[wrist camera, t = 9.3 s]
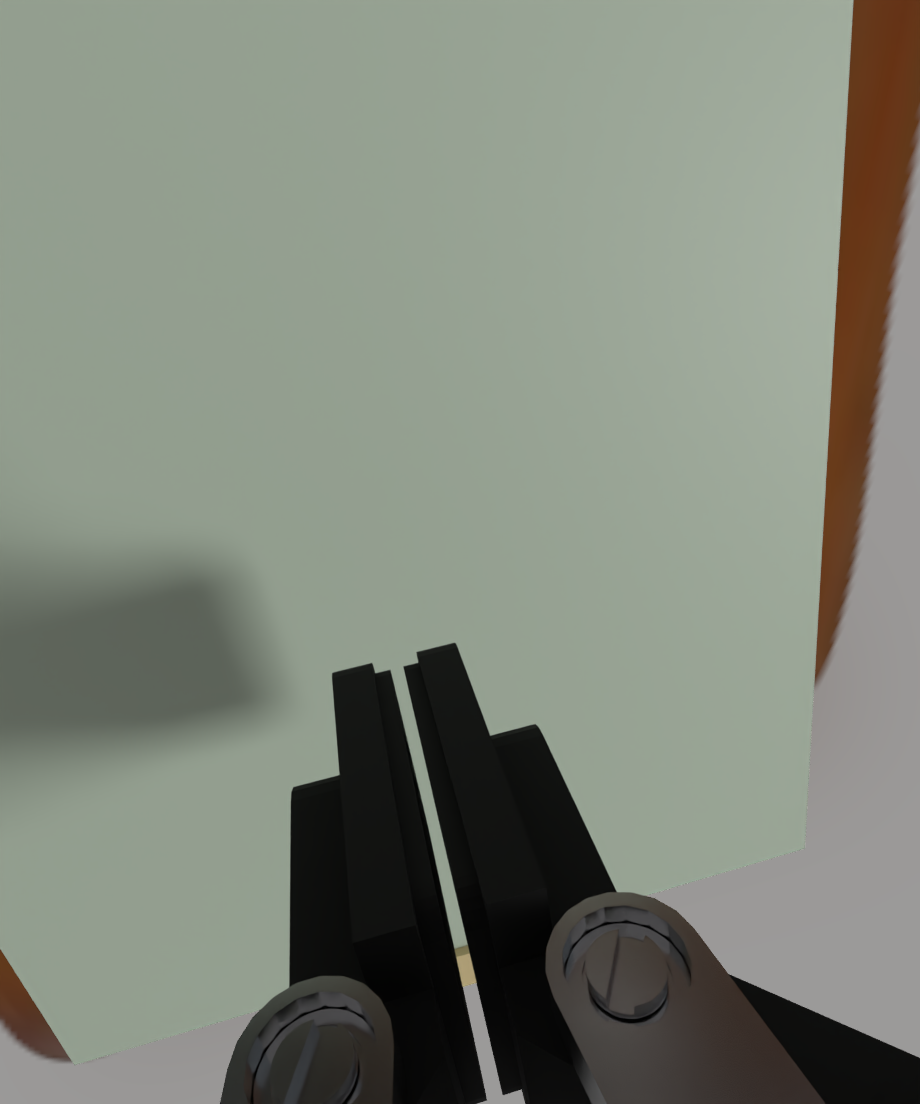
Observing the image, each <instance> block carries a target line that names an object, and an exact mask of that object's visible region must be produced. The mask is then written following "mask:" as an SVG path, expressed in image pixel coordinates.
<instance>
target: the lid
mask: <svg viewBox="0 0 920 1104" xmlns="http://www.w3.org/2000/svg"><path fill="white" fill-rule="evenodd" d="M852 14H853V0H0V949H1V950H2V952H3V954H4V955H5V957H6V958H7V960H8V961H9V963H10V965H11V966H12V968H13V969H14V971H15V972H16V974H17V976H18V977H19V979H20V980H21V982H22V983H23V985H24V987H25V988H26V990H27V991H28V993H29V994H30V996H31V998H32V999H33V1001H34V1002H35V1004H36V1005H37V1007H38V1009H39V1010H40V1012H41V1013H42V1015H43V1016H44V1018H45V1020H46V1021H47V1023H48V1024H49V1026H50V1027H51V1029H52V1031H53V1032H54V1034H55V1035H56V1037H57V1038H58V1040H59V1042H60V1043H61V1045H62V1046H63V1048H64V1049H65V1051H66V1053H67V1054H68V1056H69V1057H70V1059H71V1060H72V1062H73V1064H74V1065H77V1064H80V1063H83V1062H87V1061H90V1060H93V1059H97V1058H100V1057H104V1056H107V1055H110V1054H114V1053H117V1052H120V1051H124V1050H127V1049H130V1048H133V1047H137V1046H140V1045H144V1044H147V1043H151V1042H154V1041H158V1040H161V1039H164V1038H167V1037H171V1036H174V1035H178V1034H181V1033H185V1032H187V1031H191V1030H195V1029H198V1028H201V1027H205V1026H208V1025H212V1024H215V1023H218V1022H222V1021H225V1020H228V1019H232V1018H235V1017H238V1016H242V1015H245V1014H249V1013H252V1012H255V1011H258V1010H261V1009H262V1008H263V1007H264V1006H265V1005H266V1004H267V1003H268V1002H269V1001H270V1000H271V999H272V998H273V997H274V996H276V995H278V994H279V993H281V992H283V991H284V990H286V989H288V988H289V956H290V825H291V792H292V789H293V787H296V786H299V785H303V784H307V783H311V782H315V781H319V780H322V779H326V778H330V777H334V776H338V775H339V762H338V749H337V737H336V724H335V711H334V698H333V685H332V673H333V672H337V671H341V670H345V669H349V668H353V667H357V666H361V665H365V664H369V663H372V664H373V666H374V670H375V673H378V672H383V671H387V670H391V674H392V678H393V682H394V686H395V690H396V695H397V699H398V703H399V707H400V711H401V715H402V720H403V724H404V728H405V732H406V736H407V740H408V745H409V749H410V753H411V757H412V761H413V765H414V770H415V774H416V778H417V782H418V786H419V790H420V795H421V799H422V803H423V807H424V811H425V815H426V820H427V824H428V828H429V833H430V837H431V842H432V846H433V851H434V856H435V860H436V865H437V870H438V874H439V879H440V884H441V888H442V893H443V898H444V902H445V907H446V912H447V916H448V921H449V926H450V930H451V935H452V940H453V944H454V949H455V953H456V958H457V963H458V967H459V972H460V977H461V981H462V986H463V987H464V986H467V985H471V984H474V983H476V978H475V974H474V970H473V965H472V961H471V957H470V953H469V948H468V944H467V940H466V935H465V931H464V927H463V923H462V918H461V914H460V910H459V906H458V901H457V897H456V893H455V888H454V884H453V880H452V876H451V871H450V867H449V863H448V859H447V854H446V850H445V846H444V841H443V837H442V833H441V829H440V824H439V820H438V816H437V811H436V807H435V803H434V798H433V794H432V790H431V785H430V781H429V776H428V772H427V768H426V763H425V759H424V755H423V750H422V746H421V742H420V737H419V733H418V729H417V724H416V720H415V716H414V711H413V707H412V703H411V698H410V694H409V690H408V685H407V681H406V676H405V672H404V668H403V666H407V665H411V664H415V663H418V659H417V653H416V652H418V651H422V650H426V649H431V648H435V647H439V646H443V645H447V644H451V643H456V645H457V647H458V650H459V652H460V655H461V658H462V660H463V663H464V666H465V669H466V671H467V674H468V677H469V679H470V682H471V685H472V687H473V690H474V693H475V696H476V698H477V701H478V704H479V706H480V709H481V712H482V715H483V717H484V720H485V723H486V725H487V728H488V731H489V733H490V736H491V735H495V734H498V733H502V732H506V731H510V730H514V729H518V728H521V727H525V726H529V725H533V724H536V725H537V726H538V727H539V728H540V730H541V732H542V734H543V736H544V738H545V740H546V742H547V744H548V746H549V749H550V751H551V753H552V755H553V757H554V759H555V761H556V763H557V766H558V768H559V770H560V772H561V774H562V776H563V778H564V780H565V783H566V785H567V787H568V789H569V791H570V793H571V795H572V798H573V800H574V802H575V804H576V806H577V808H578V810H579V812H580V815H581V817H582V819H583V821H584V823H585V825H586V827H587V829H588V832H589V834H590V836H591V838H592V840H593V842H594V844H595V846H596V849H597V851H598V853H599V855H600V857H601V859H602V861H603V863H604V866H605V868H606V870H607V872H608V874H609V876H610V878H611V881H612V883H613V885H614V887H615V889H616V891H617V892H632V893H636V894H640V895H644V896H647V895H650V894H653V893H656V892H660V891H663V890H667V889H670V888H673V887H677V886H680V885H684V884H687V883H690V882H694V881H697V880H701V879H704V878H707V877H711V876H714V875H717V874H720V873H724V872H728V871H730V870H734V869H738V868H741V867H744V866H748V865H751V864H755V863H758V862H761V861H764V860H768V859H771V858H775V857H778V856H781V855H785V854H788V853H791V852H795V851H798V850H801V849H804V848H805V836H806V819H807V801H808V784H809V765H810V749H811V731H812V712H813V695H814V679H815V661H816V644H817V626H818V609H819V591H820V574H821V556H822V539H823V521H824V504H825V486H826V469H827V451H828V434H829V416H830V399H831V381H832V364H833V346H834V329H835V311H836V294H837V276H838V259H839V241H840V224H841V206H842V189H843V171H844V154H845V136H846V119H847V101H848V84H849V66H850V49H851V31H852Z"/></svg>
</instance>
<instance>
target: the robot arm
mask: <svg viewBox="0 0 920 1104" xmlns="http://www.w3.org/2000/svg"><path fill="white" fill-rule="evenodd" d="M416 653H417V659H418V663H415V664H411V665H407V666H403V668H404V672H405V676H406V681H407V685H408V690H409V694H410V698H411V703H412V707H413V711H414V716H415V720H416V724H417V729H418V733H419V737H420V742H421V746H422V750H423V755H424V759H425V763H426V768H427V772H428V776H429V781H430V785H431V790H432V794H433V798H434V803H435V807H436V811H437V816H438V820H439V824H440V829H441V833H442V837H443V841H444V846H445V850H446V854H447V859H448V863H449V867H450V871H451V876H452V880H453V884H454V888H455V893H456V897H457V901H458V906H459V910H460V914H461V918H462V923H463V927H464V931H465V935H466V940H467V944H468V948H469V953H470V957H471V961H472V965H473V970H474V974H475V978H476V983H477V987H478V991H479V995H480V1000H481V1004H482V1008H483V1012H484V1017H485V1021H486V1025H487V1029H488V1034H489V1038H490V1042H491V1047H492V1051H493V1055H494V1059H495V1063H496V1068H497V1072H498V1076H499V1081H500V1085H501V1089H502V1094H503V1095H505V1094H508V1093H511V1092H514V1091H518V1090H521V1089H522V1092H523V1096H524V1100H525V1104H920V1058H919V1057H916V1056H914V1055H912V1054H910V1053H907V1052H905V1051H903V1050H900V1049H898V1048H896V1047H894V1046H891V1045H889V1044H887V1043H884V1042H882V1041H880V1040H878V1039H875V1038H873V1037H871V1036H869V1035H866V1034H864V1033H862V1032H859V1031H857V1030H855V1029H852V1028H850V1027H848V1026H846V1025H843V1024H841V1023H839V1022H836V1021H834V1020H832V1019H830V1018H827V1017H825V1016H823V1015H820V1014H818V1013H816V1012H814V1011H812V1010H809V1009H807V1008H805V1007H802V1006H800V1005H798V1004H796V1003H793V1002H791V1001H789V1000H786V999H784V998H782V997H780V996H777V995H775V994H773V993H770V992H768V991H766V990H764V989H761V988H759V987H757V986H754V985H752V984H750V983H748V982H745V981H743V980H741V979H739V978H736V977H734V976H732V975H729V974H728V973H727V972H726V970H725V969H724V968H723V966H722V965H721V964H720V962H719V961H718V960H717V958H716V957H715V956H714V955H713V953H712V952H711V951H710V949H709V948H708V946H707V945H706V944H705V943H704V941H703V940H702V938H701V937H700V936H699V935H698V933H697V932H696V931H695V929H694V928H693V927H692V926H691V925H690V924H689V923H688V922H687V921H686V920H685V919H684V918H683V917H682V916H681V915H680V914H679V913H678V912H677V911H676V910H674V909H672V908H671V907H669V906H667V905H665V904H664V903H662V902H660V901H658V900H656V899H655V898H651V897H647V896H644V895H640V894H636V893H632V892H617V891H616V889H615V887H614V885H613V883H612V881H611V878H610V876H609V874H608V872H607V870H606V868H605V866H604V863H603V861H602V859H601V857H600V855H599V853H598V851H597V849H596V846H595V844H594V842H593V840H592V838H591V836H590V834H589V832H588V829H587V827H586V825H585V823H584V821H583V819H582V817H581V815H580V812H579V810H578V808H577V806H576V804H575V802H574V800H573V798H572V795H571V793H570V791H569V789H568V787H567V785H566V783H565V780H564V778H563V776H562V774H561V772H560V770H559V768H558V766H557V763H556V761H555V759H554V757H553V755H552V753H551V751H550V749H549V746H548V744H547V742H546V740H545V738H544V736H543V734H542V732H541V730H540V728H539V727H538V726H537V725H536V724H533V725H529V726H525V727H521V728H518V729H514V730H510V731H506V732H502V733H498V734H495V735H491V736H490V733H489V731H488V728H487V725H486V723H485V720H484V717H483V715H482V712H481V709H480V706H479V704H478V701H477V698H476V696H475V693H474V690H473V687H472V685H471V682H470V679H469V677H468V674H467V671H466V669H465V666H464V663H463V660H462V658H461V655H460V652H459V650H458V647H457V645H456V643H451V644H447V645H443V646H439V647H435V648H431V649H426V650H422V651H418V652H416ZM332 685H333V698H334V711H335V724H336V737H337V749H338V762H339V775H338V776H334V777H330V778H326V779H322V780H319V781H315V782H311V783H307V784H303V785H299V786H296V787H293V789H292V792H291V825H290V956H289V988H288V989H286V990H284V991H283V992H281V993H279V994H278V995H276V996H274V997H273V998H272V999H271V1000H270V1001H269V1002H268V1003H267V1004H266V1005H265V1006H264V1007H263V1008H262V1009H261V1010H260V1011H259V1012H258V1013H257V1014H256V1015H255V1016H254V1017H253V1018H252V1020H251V1021H250V1023H249V1024H248V1026H247V1027H246V1029H245V1030H244V1032H243V1033H242V1035H241V1037H240V1038H239V1040H238V1041H237V1044H236V1046H235V1049H234V1052H233V1055H232V1058H231V1061H230V1063H229V1067H228V1069H227V1074H226V1078H225V1083H224V1088H223V1092H222V1097H221V1102H220V1104H477V1103H480V1102H483V1101H486V1100H487V1099H486V1093H485V1089H484V1084H483V1079H482V1074H481V1070H480V1065H479V1061H478V1056H477V1051H476V1047H475V1042H474V1037H473V1033H472V1028H471V1023H470V1019H469V1014H468V1009H467V1005H466V1000H465V995H464V991H463V986H462V981H461V977H460V972H459V967H458V963H457V958H456V953H455V949H454V944H453V940H452V935H451V930H450V926H449V921H448V916H447V912H446V907H445V902H444V898H443V893H442V888H441V884H440V879H439V874H438V870H437V865H436V860H435V856H434V851H433V846H432V842H431V837H430V833H429V828H428V824H427V820H426V815H425V811H424V807H423V803H422V799H421V795H420V790H419V786H418V782H417V778H416V774H415V770H414V765H413V761H412V757H411V753H410V749H409V745H408V740H407V736H406V732H405V728H404V724H403V720H402V715H401V711H400V707H399V703H398V699H397V695H396V690H395V686H394V682H393V678H392V674H391V670H387V671H383V672H378V673H375V670H374V666H373V664H372V663H369V664H365V665H361V666H357V667H353V668H349V669H345V670H341V671H337V672H333V673H332Z"/></svg>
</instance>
